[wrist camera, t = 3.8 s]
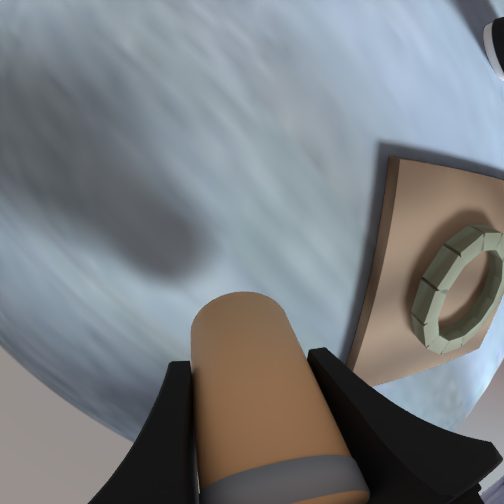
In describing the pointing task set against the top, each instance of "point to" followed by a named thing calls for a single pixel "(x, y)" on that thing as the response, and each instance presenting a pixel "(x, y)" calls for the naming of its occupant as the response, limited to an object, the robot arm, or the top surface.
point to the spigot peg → (263, 412)
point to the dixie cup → (495, 45)
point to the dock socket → (430, 271)
